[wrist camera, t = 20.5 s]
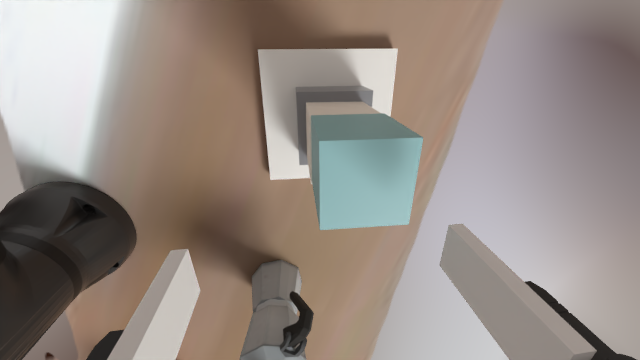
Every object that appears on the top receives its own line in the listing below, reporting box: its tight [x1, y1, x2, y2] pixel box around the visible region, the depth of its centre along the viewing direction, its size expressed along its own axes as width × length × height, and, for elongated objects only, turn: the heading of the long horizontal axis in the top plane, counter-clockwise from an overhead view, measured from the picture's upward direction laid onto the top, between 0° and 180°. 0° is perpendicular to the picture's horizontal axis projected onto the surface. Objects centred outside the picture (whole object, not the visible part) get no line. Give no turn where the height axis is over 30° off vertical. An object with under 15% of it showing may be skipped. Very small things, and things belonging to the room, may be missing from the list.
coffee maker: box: [240, 260, 314, 360], centre depth 37 cm, size 15×9×18 cm, turn 144°
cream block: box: [306, 102, 381, 184], centre depth 26 cm, size 6×6×7 cm
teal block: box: [311, 113, 423, 230], centre depth 19 cm, size 6×6×7 cm
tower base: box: [258, 49, 398, 180], centre depth 32 cm, size 16×16×6 cm
